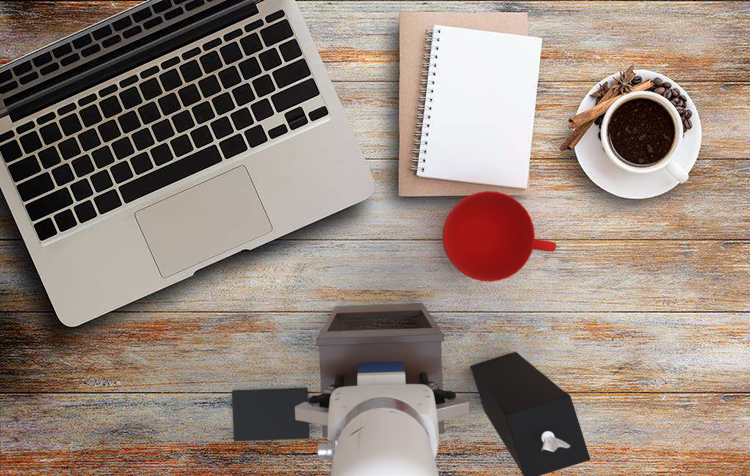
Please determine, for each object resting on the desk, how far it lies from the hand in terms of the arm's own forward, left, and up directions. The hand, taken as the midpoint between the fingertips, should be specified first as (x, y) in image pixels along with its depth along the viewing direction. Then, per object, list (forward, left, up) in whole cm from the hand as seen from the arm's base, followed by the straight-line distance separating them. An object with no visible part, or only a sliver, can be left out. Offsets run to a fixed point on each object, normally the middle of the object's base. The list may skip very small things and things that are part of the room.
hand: (381, 387), depth 61 cm
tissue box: (-7, -19, -27) cm, 34 cm away
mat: (-11, +18, -27) cm, 34 cm away
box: (0, 0, -2) cm, 2 cm away
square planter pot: (0, 0, -27) cm, 27 cm away
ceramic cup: (+16, -18, -27) cm, 36 cm away
